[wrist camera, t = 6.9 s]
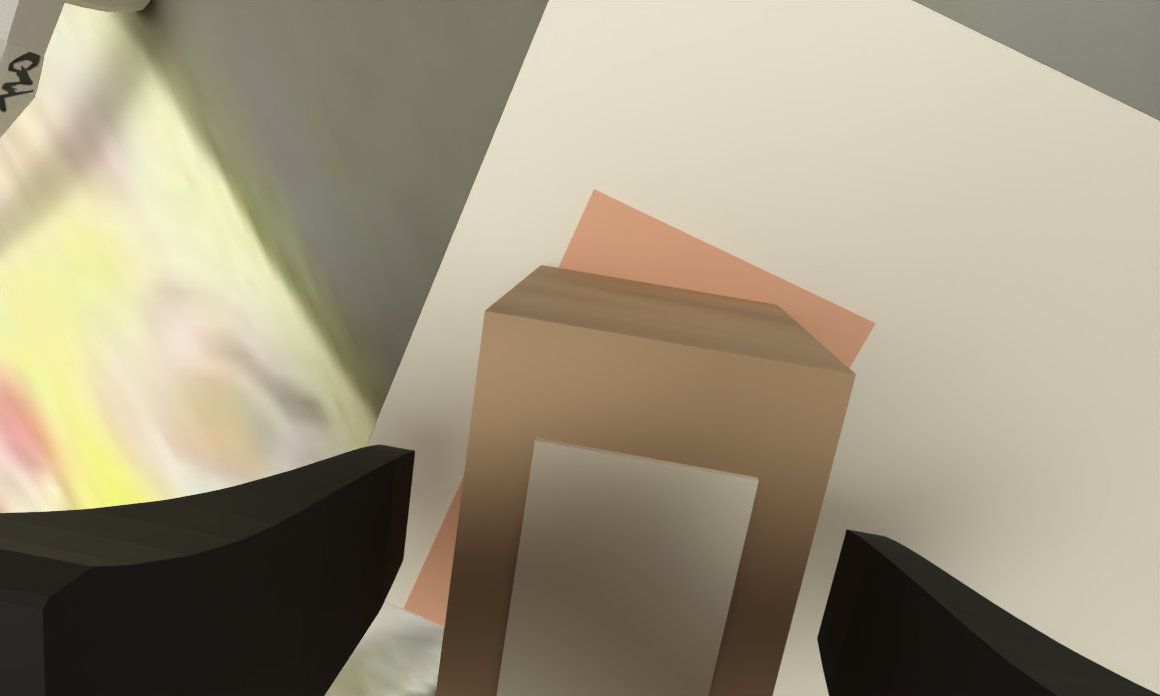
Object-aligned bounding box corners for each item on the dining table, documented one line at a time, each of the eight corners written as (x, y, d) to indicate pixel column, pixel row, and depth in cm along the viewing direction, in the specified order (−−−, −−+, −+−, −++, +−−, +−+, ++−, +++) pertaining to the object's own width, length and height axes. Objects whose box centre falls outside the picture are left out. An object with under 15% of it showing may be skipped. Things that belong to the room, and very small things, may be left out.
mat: (1459, 281, 13) (1503, 286, 12) (996, 862, 16) (1012, 892, 16) (610, -132, 12) (608, -150, 12) (327, 555, 16) (313, 571, 15)
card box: (694, 668, 15) (720, 905, 10) (488, 629, 15) (416, 841, 10) (777, 304, 13) (858, 377, 8) (540, 264, 13) (483, 312, 8)
